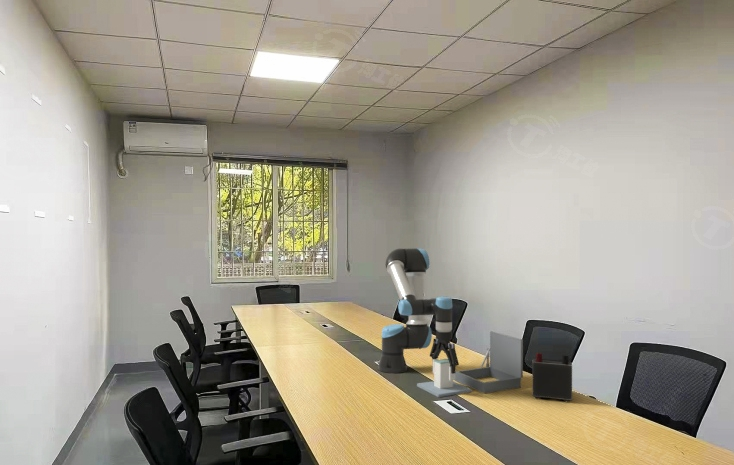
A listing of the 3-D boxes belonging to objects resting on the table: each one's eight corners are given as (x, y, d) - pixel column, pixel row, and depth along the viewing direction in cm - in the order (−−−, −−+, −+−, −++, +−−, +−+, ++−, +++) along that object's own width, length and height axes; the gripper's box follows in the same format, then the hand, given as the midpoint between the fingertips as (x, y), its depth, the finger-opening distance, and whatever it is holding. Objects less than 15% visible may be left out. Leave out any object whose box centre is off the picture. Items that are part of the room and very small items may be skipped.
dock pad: (416, 386, 234) (416, 383, 234) (448, 381, 242) (448, 379, 242) (438, 397, 218) (438, 394, 218) (471, 391, 226) (471, 389, 226)
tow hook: (478, 369, 267) (479, 373, 258) (478, 345, 267) (479, 348, 258) (494, 370, 265) (496, 374, 256) (494, 346, 266) (496, 349, 257)
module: (434, 385, 231) (434, 360, 231) (446, 384, 234) (446, 358, 234) (440, 388, 226) (440, 362, 226) (452, 386, 229) (453, 361, 229)
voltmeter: (569, 392, 227) (569, 348, 227) (572, 403, 212) (572, 356, 212) (532, 388, 232) (532, 345, 233) (532, 399, 217) (532, 353, 217)
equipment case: (453, 379, 245) (453, 334, 245) (490, 374, 255) (490, 330, 255) (483, 393, 224) (484, 343, 224) (522, 386, 234) (522, 339, 234)
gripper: (466, 334, 221) (466, 382, 221) (435, 325, 243) (435, 369, 243) (453, 336, 218) (452, 384, 217) (422, 326, 240) (422, 370, 239)
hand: (443, 376), depth 230 cm, fingers open, 13 cm apart
